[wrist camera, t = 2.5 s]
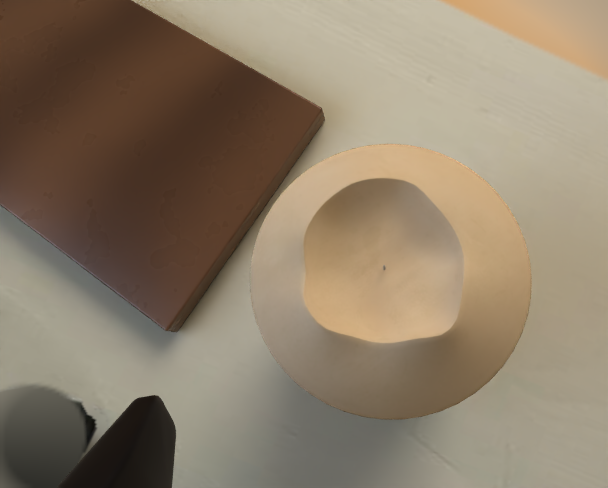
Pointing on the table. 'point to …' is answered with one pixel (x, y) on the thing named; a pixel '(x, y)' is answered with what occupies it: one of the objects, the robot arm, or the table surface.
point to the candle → (390, 281)
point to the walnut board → (138, 145)
